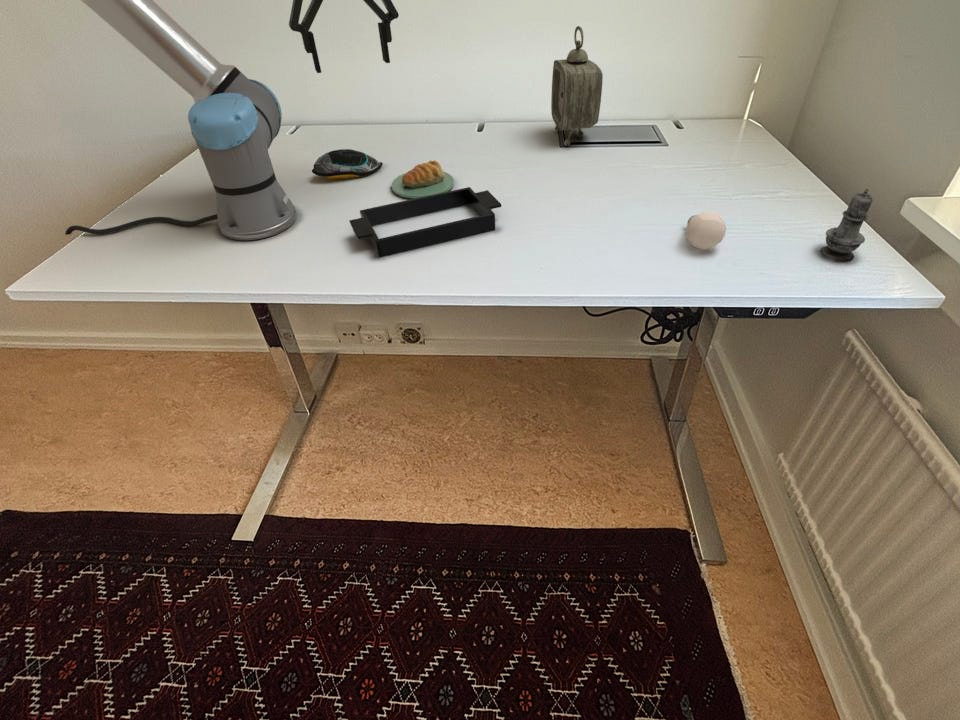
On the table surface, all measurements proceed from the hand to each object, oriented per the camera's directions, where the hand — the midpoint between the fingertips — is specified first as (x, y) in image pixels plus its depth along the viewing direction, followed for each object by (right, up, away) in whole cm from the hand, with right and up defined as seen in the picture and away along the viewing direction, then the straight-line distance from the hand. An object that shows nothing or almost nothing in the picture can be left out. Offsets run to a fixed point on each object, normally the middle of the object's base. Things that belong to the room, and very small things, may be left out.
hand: (353, 66), depth 105 cm
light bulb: (+66, -36, -6) cm, 75 cm away
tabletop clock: (+49, 0, +34) cm, 60 cm away
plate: (+12, -18, +16) cm, 27 cm away
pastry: (+13, -18, +15) cm, 27 cm away
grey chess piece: (+87, -39, -11) cm, 97 cm away
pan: (+15, -32, +1) cm, 35 cm away
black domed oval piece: (-6, -13, +23) cm, 27 cm away
